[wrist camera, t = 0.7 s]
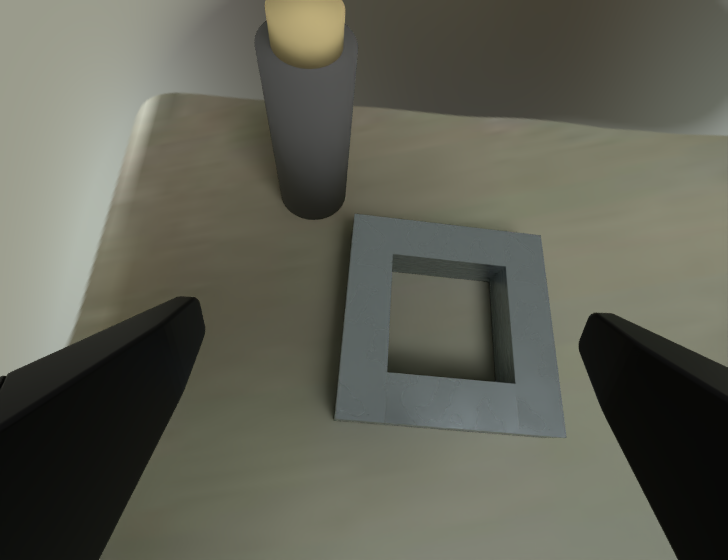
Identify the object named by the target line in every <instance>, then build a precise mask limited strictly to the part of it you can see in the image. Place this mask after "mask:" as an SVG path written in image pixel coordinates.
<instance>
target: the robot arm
mask: <svg viewBox="0 0 728 560" xmlns="http://www.w3.org/2000/svg"><path fill="white" fill-rule="evenodd" d="M204 335H205V324H204V320H203V315H202V311H201V306H200V303H199V300H198V299H197V298H195V297H184V296H180V297H176V298H174V299H171V300H169V301H167V302H165V303H163V304H160V305H158V306H156V307H154V308H151V309H149V310H147V311H145V312H143V313H140V314H138V315H136V316H134V317H132V318H129V319H127V320H125V321H123V322H121V323H118V324H116V325H114V326H112V327H109V328H107V329H105V330H103V331H101V332H98V333H96V334H94V335H92V336H90V337H87V338H85V339H83V340H81V341H79V342H76V343H74V344H72V345H70V346H67V347H65V348H63V349H61V350H59V351H57V352H54V353H52V354H50V355H48V356H46V357H43V358H41V359H39V360H37V361H34V362H32V363H30V364H28V365H25V366H23V367H21V368H19V369H17V370H14V371H12V372H10V373H8V374H7V376H1V377H0V560H99V558H100V556H101V555H102V553H103V551H104V549H105V547H106V545H107V543H108V541H109V539H110V537H111V535H112V533H113V531H114V529H115V527H116V525H117V523H118V521H119V519H120V517H121V515H122V513H123V511H124V509H125V507H126V505H127V503H128V501H129V499H130V497H131V495H132V493H133V491H134V489H135V487H136V485H137V483H138V481H139V479H140V477H141V475H142V473H143V471H144V469H145V467H146V465H147V463H148V461H149V460H150V458H151V456H152V454H153V452H154V450H155V448H156V446H157V444H158V442H159V440H160V438H161V436H162V434H163V432H164V430H165V428H166V426H167V424H168V422H169V420H170V418H171V416H172V414H173V412H174V410H175V408H176V406H177V404H178V402H179V400H180V398H181V396H182V394H183V391H184V389H185V387H186V384H187V381H188V379H189V376H190V373H191V371H192V368H193V365H194V362H195V360H196V357H197V354H198V352H199V349H200V346H201V343H202V341H203V338H204ZM579 352H580V355H581V357H582V360H583V362H584V365H585V368H586V370H587V373H588V376H589V378H590V381H591V383H592V386H593V389H594V391H595V394H596V397H597V399H598V402H599V404H600V406H601V409H602V411H603V413H604V415H605V417H606V419H607V422H608V423H609V425H610V427H611V429H612V431H613V433H614V435H615V437H616V439H617V441H618V443H619V445H620V447H621V449H622V451H623V453H624V455H625V457H626V459H627V461H628V463H629V465H630V467H631V469H632V471H633V473H634V474H635V476H636V478H637V480H638V482H639V484H640V486H641V488H642V490H643V492H644V494H645V496H646V498H647V500H648V502H649V504H650V506H651V508H652V510H653V512H654V514H655V516H656V518H657V520H658V522H659V524H660V525H661V527H662V529H663V531H664V533H665V535H666V537H667V539H668V541H669V543H670V545H671V547H672V549H673V551H674V553H675V555H676V557H677V559H678V560H728V367H726V366H723V365H721V364H719V363H717V362H715V361H713V360H711V359H708V358H706V357H704V356H702V355H700V354H698V353H696V352H694V351H691V350H689V349H687V348H685V347H683V346H681V345H679V344H677V343H674V342H672V341H670V340H668V339H666V338H664V337H662V336H659V335H657V334H655V333H653V332H651V331H649V330H647V329H645V328H642V327H640V326H638V325H636V324H634V323H632V322H630V321H627V320H625V319H623V318H621V317H619V316H617V315H615V314H612V313H593V314H591V315H590V316H589V318H588V320H587V322H586V325H585V328H584V330H583V333H582V335H581V338H580V341H579Z"/></svg>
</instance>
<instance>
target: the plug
mask: <svg viewBox="0 0 728 560" xmlns="http://www.w3.org/2000/svg"><path fill="white" fill-rule="evenodd" d="M265 11H266V19H267V20H266V21H265V22H264V23H263V24H262V25H261V26H260V27H259V29H258V31H257V33H256V35H255V49H256V55H257V61H258V66H259V71H260V77H261V83H262V89H263V94H264V100H265V106H266V111H267V117H268V122H269V128H270V134H271V139H272V145H273V150H274V156H275V162H276V167H277V173H278V179H279V184H280V190H281V195H282V200H283V202H284V204H285V206H286V207H287V208H288V209H289V210H290V211H291V212H292V213H293V214H295V215H297V216H299V217H301V218H305V219H311V220H317V219H323V218H327V217H329V216H331V215H333V214H334V213H336V212H337V211H338V210H339V209H340V207H341V206H342V204H343V202H344V200H345V192H346V181H347V169H348V158H349V146H350V135H351V123H352V112H353V100H354V88H355V78H356V77H355V76H356V66H357V54H358V43H357V39H356V37H355V35H354V33H353V32H352V30H351V29H350V28H349V27H348V26H347V25H346V24H345V6H344V3H343V2H342V0H266V2H265Z"/></svg>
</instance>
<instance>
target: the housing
mask: <svg viewBox="0 0 728 560" xmlns="http://www.w3.org/2000/svg"><path fill="white" fill-rule="evenodd" d="M392 271H393V272H402V273H412V274H421V275H430V276H439V277H449V278H458V279H467V280H477V281H486V282H489V285H490V301H491V317H492V333H493V349H494V365H495V381H496V382H489V381H478V380H467V379H456V378H445V377H434V376H423V375H412V374H401V373H390V372H387V365H388V344H389V323H390V302H391V281H392ZM334 421H345V422H357V423H369V424H381V425H394V426H406V427H418V428H430V429H443V430H455V431H467V432H479V433H492V434H504V435H516V436H528V437H541V438H566V430H565V422H564V414H563V406H562V398H561V391H560V383H559V375H558V367H557V359H556V351H555V344H554V336H553V328H552V320H551V312H550V304H549V297H548V289H547V281H546V273H545V265H544V257H543V249H542V242H541V235H533V234H525V233H516V232H507V231H499V230H490V229H482V228H473V227H464V226H456V225H447V224H439V223H430V222H421V221H413V220H404V219H396V218H387V217H378V216H370V215H361V214H355V216H354V223H353V231H352V239H351V250H350V260H349V270H348V280H347V291H346V301H345V311H344V321H343V332H342V342H341V352H340V362H339V373H338V383H337V393H336V403H335V414H334Z"/></svg>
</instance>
